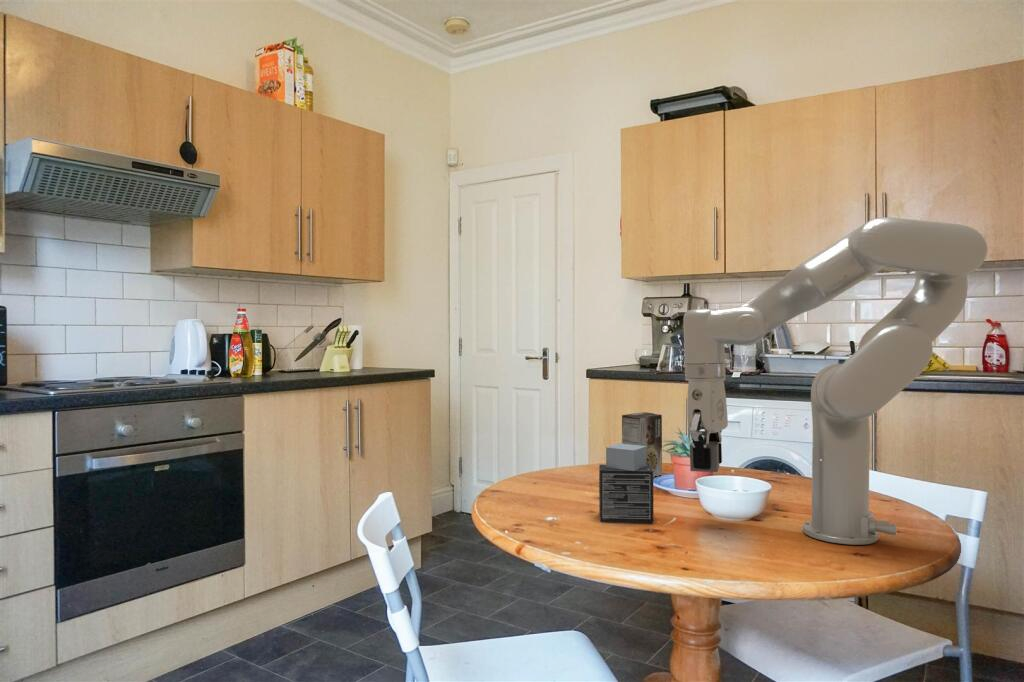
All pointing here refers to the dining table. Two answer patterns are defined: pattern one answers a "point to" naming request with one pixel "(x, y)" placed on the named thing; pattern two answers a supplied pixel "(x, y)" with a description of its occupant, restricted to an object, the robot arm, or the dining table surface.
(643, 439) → the coffee box
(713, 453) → the brown grey cube
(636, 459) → the slate block
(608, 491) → the small box
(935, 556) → the dining table surface
